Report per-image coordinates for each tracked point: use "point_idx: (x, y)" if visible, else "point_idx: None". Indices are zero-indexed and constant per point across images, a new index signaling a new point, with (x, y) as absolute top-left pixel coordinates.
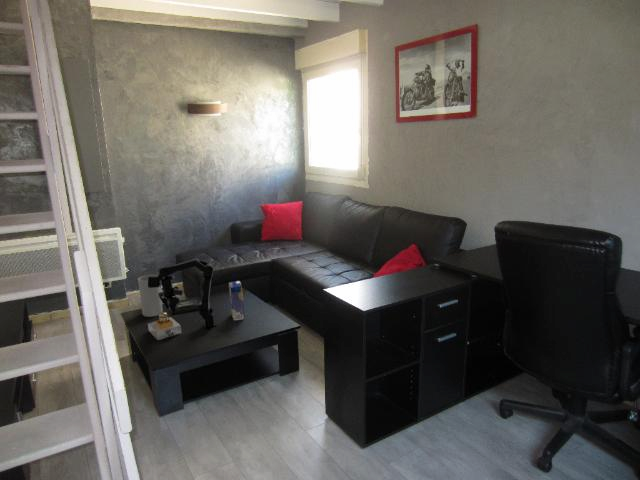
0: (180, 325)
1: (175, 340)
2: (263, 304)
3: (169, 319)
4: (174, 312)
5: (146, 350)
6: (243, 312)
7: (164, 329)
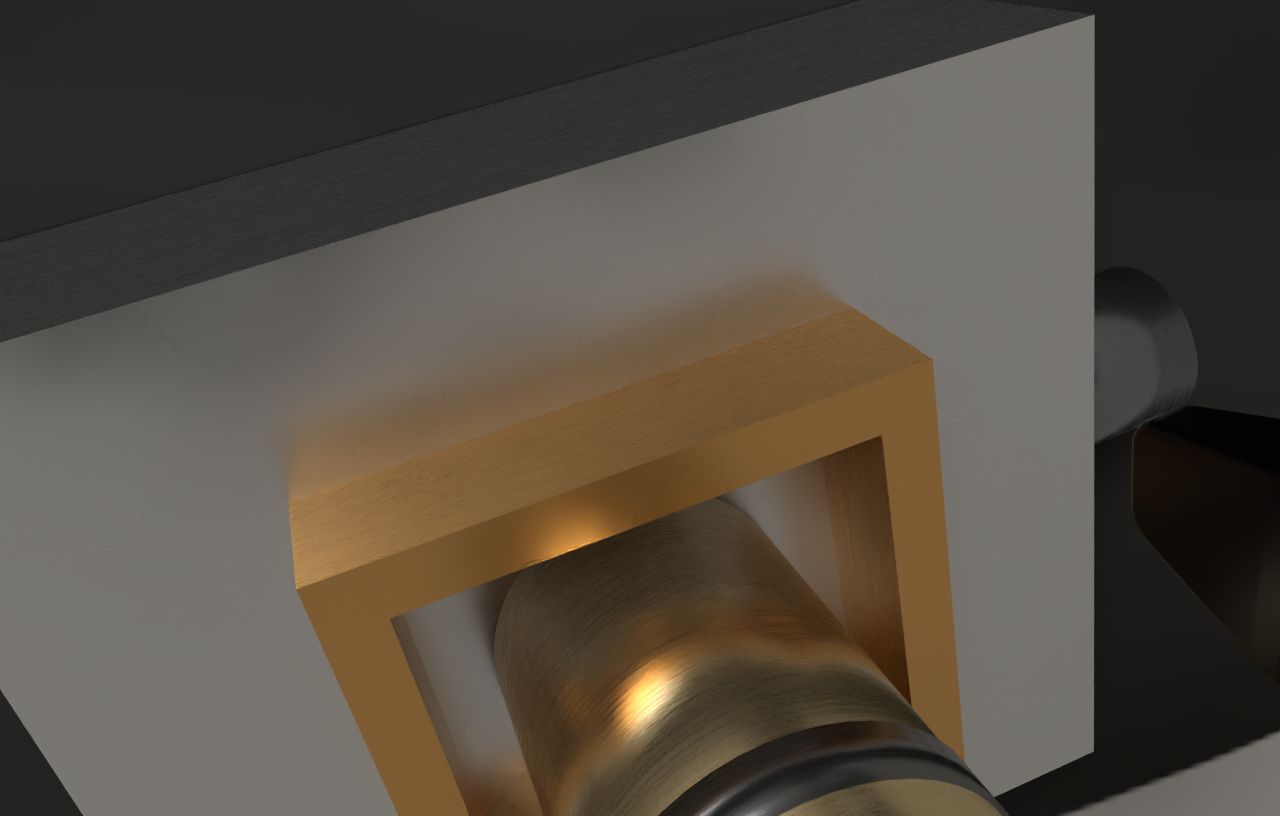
0: (1088, 19)
1: (1210, 214)
2: None
3: (613, 503)
4: (1209, 412)
5: (1211, 746)
6: None
7: (1058, 579)
